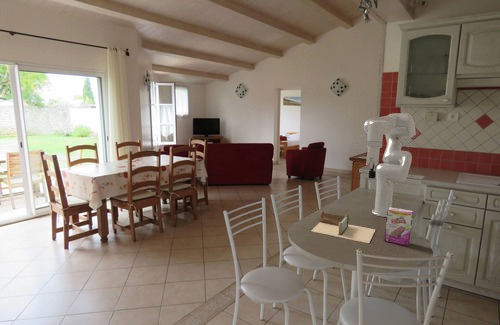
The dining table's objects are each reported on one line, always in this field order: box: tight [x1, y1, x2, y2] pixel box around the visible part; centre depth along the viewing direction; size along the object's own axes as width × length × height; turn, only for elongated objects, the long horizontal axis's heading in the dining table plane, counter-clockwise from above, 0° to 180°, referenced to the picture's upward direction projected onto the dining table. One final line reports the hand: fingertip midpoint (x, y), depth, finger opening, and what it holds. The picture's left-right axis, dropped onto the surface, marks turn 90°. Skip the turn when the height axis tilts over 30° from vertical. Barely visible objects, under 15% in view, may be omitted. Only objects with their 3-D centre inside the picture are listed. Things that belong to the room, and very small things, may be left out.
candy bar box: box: [384, 207, 414, 247], centre depth 148 cm, size 11×5×16 cm, turn 59°
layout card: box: [310, 221, 376, 244], centre depth 163 cm, size 20×29×1 cm
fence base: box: [319, 210, 350, 227], centre depth 171 cm, size 2×16×7 cm, turn 60°
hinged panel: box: [338, 217, 347, 234], centre depth 162 cm, size 2×12×6 cm, turn 149°
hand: (371, 178), depth 167 cm, fingers closed
